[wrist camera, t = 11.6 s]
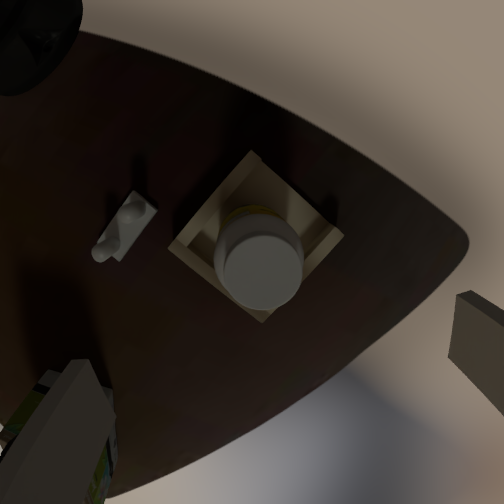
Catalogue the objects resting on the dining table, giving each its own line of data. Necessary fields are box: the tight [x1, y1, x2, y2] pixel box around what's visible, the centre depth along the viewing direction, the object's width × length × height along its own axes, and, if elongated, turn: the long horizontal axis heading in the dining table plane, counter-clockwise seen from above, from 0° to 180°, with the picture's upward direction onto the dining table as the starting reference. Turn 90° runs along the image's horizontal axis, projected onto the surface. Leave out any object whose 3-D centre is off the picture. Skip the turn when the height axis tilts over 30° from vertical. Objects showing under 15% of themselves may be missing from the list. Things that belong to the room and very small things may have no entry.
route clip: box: [92, 190, 158, 262], centre depth 27 cm, size 3×6×4 cm, turn 139°
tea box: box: [0, 369, 118, 504], centre depth 28 cm, size 15×10×15 cm
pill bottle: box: [214, 204, 304, 310], centre depth 24 cm, size 6×6×11 cm
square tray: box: [168, 150, 344, 323], centre depth 28 cm, size 11×11×3 cm
